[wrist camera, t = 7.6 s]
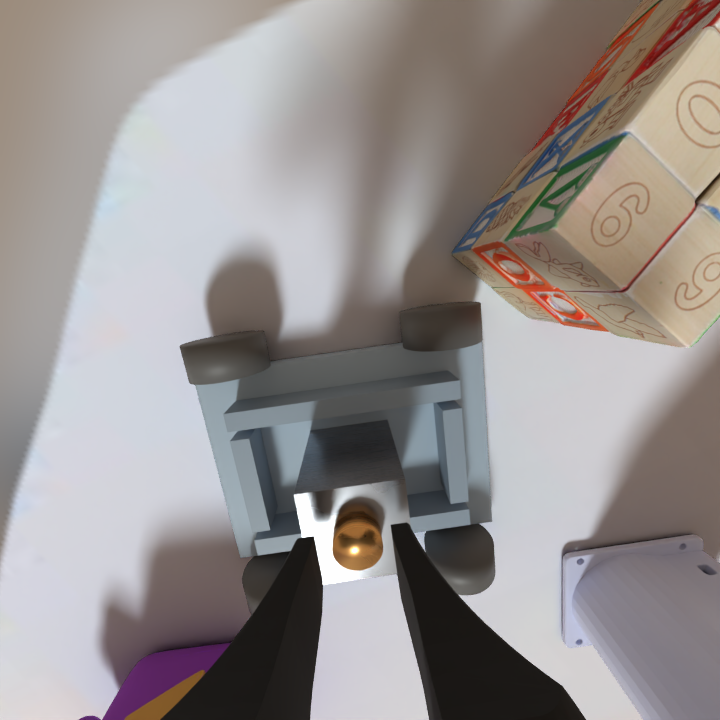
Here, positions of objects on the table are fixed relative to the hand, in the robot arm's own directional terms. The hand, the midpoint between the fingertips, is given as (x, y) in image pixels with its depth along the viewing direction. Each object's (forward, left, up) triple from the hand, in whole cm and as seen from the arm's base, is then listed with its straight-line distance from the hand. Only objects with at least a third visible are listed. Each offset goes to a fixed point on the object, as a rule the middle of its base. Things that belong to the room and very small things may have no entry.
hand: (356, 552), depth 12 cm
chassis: (0, 0, -8) cm, 8 cm away
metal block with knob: (0, 0, -7) cm, 7 cm away
